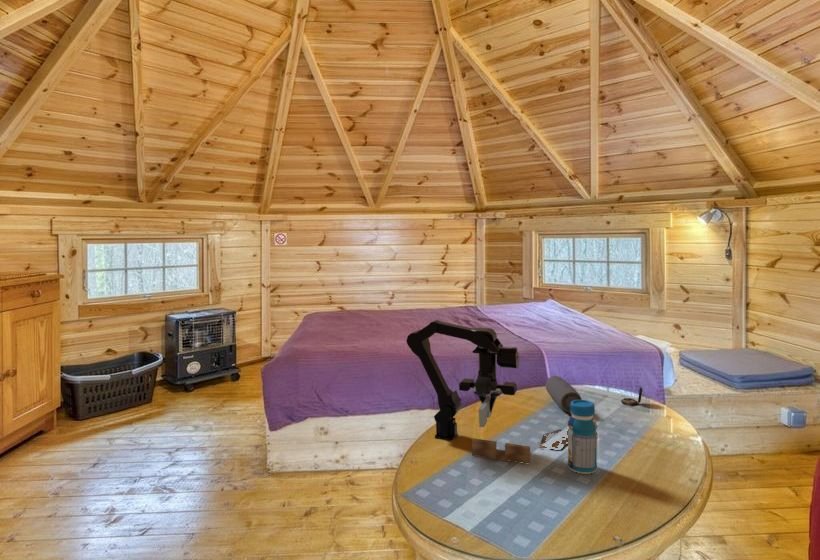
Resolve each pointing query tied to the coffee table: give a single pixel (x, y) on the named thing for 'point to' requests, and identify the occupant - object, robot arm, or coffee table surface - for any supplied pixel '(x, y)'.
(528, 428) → the coffee table surface
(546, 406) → the coffee table surface
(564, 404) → the bluetooth speaker
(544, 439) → the wooden fragment
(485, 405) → the tapered grey plank
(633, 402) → the compass
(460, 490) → the coffee table surface
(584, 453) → the beverage bottle
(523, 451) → the stepped wooden block
